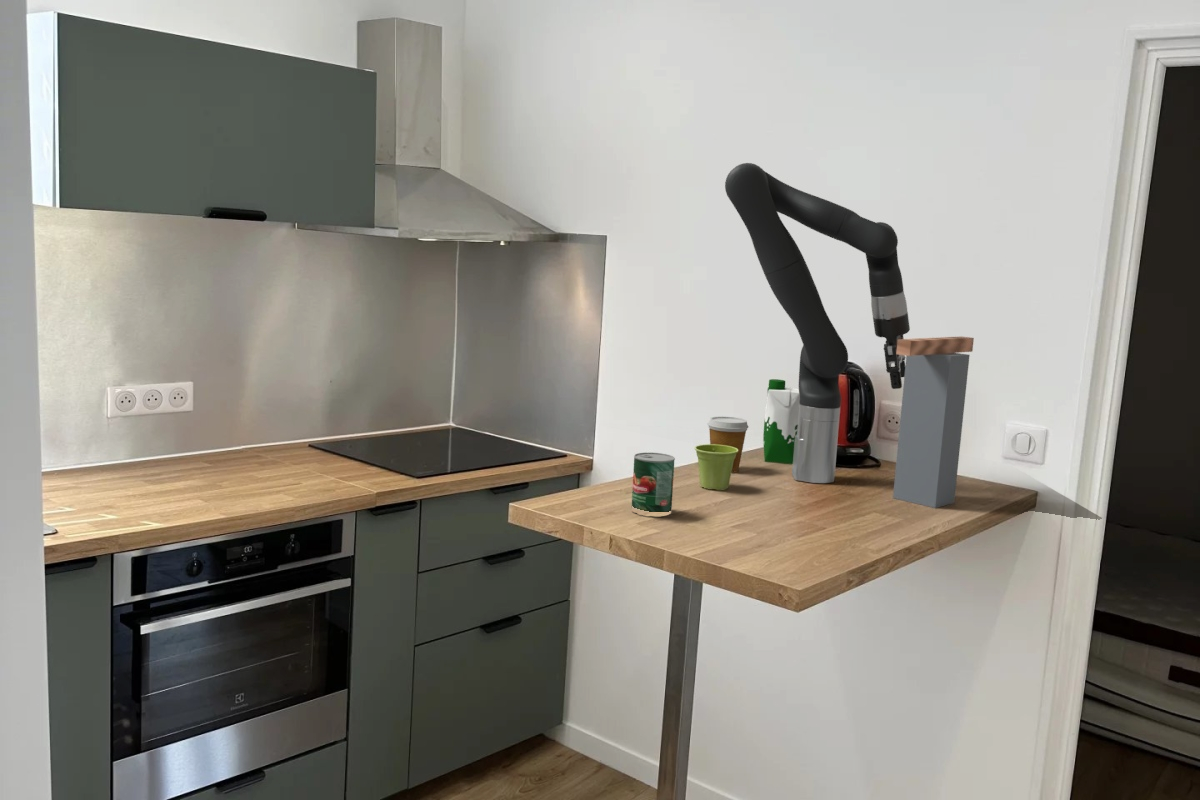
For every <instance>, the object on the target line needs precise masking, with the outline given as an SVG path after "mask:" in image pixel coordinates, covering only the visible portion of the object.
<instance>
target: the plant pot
mask: <svg viewBox="0 0 1200 800" xmlns="http://www.w3.org/2000/svg"><path fill="white" fill-rule="evenodd" d="M694 450H695V451H696V457H697V462H698V472H699V474H698V475H699V486H700V487H701V486H702V487H704V488H703V489H705V488H708V489H711V490H716V491H723V490H727V489H729V487H730V486H729V485H730V481H731V478H732V473H731V472H732V467H733V462H734V459H735V457H736V453H738V449H737V448H734V447H731V446H725V445H715V444H710V443H709V444H699V445H695V446H694ZM702 487H701V488H702ZM708 489H707V490H708Z"/></svg>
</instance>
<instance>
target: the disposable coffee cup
mask: <svg viewBox="0 0 1200 800" xmlns="http://www.w3.org/2000/svg"><path fill="white" fill-rule="evenodd" d="M708 421H709V422H708V423H707V426H708V428H709V444H715V445H725V446H731V447H734V448H737V449H738V453H736V457H735V459H734V462H733V467H732V472H731V474H732V473H737V472H739V469H740V464H741V458H742V453H743V448H744V443H745V440H746V434H747V431H748V429H749V425H748V420H746V419H743V418H740V417H734V416H713V417H710V418H709V420H708Z"/></svg>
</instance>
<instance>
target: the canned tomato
mask: <svg viewBox="0 0 1200 800" xmlns="http://www.w3.org/2000/svg"><path fill="white" fill-rule="evenodd" d="M633 457H634V459H633V476H632V496H631V507H632V506H633V507H634V508H637V509H640V510H644V511H649V512H669V511H672V507H673V493H674V473H675V460H676V457H675V456H673V455H671V454H667V453H662V452H638V453H634V455H633Z"/></svg>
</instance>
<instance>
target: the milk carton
mask: <svg viewBox="0 0 1200 800" xmlns="http://www.w3.org/2000/svg"><path fill="white" fill-rule="evenodd" d="M766 394H767V395H766V397H767V398H766V403H765V411H764V420H763V421H764V422H763V436H762V437H763V440H762V441H763V443H762V444H763V455H764V456H763V457H764V462H767V463H776V464H777V463H778V464H789V465H793V454H794V442H795V435H797V427H798V415H799V404H800V403H799V402H800V394H799V388H793V387H788V386H787V387H786V380H783V379H774V378H773V379H769V380H768V387H767V393H766Z"/></svg>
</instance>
